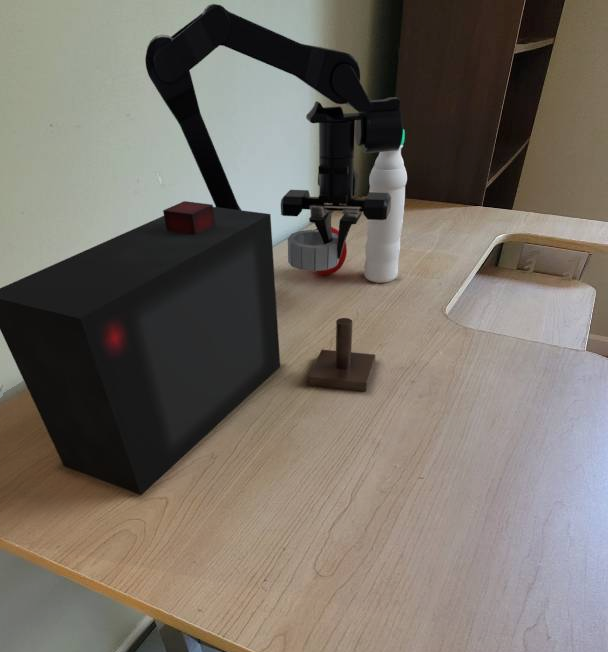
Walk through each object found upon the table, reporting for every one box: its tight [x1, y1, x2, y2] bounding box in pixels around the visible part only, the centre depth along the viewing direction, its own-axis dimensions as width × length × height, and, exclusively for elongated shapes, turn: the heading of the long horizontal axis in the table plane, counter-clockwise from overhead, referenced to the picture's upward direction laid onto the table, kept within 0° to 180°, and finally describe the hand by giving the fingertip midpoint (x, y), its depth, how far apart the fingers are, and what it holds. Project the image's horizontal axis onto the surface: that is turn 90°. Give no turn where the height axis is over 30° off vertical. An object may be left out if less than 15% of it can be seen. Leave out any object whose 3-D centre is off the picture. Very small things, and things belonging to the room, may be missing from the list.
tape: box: [287, 229, 339, 272], centre depth 96 cm, size 9×9×4 cm
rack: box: [308, 317, 377, 392], centre depth 79 cm, size 9×9×8 cm
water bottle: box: [363, 128, 408, 284], centre depth 100 cm, size 7×7×25 cm
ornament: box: [313, 226, 348, 276], centre depth 108 cm, size 9×9×10 cm
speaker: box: [0, 200, 281, 496], centre depth 68 cm, size 15×35×24 cm, turn 152°
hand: (335, 257), depth 96 cm, fingers closed on tape
